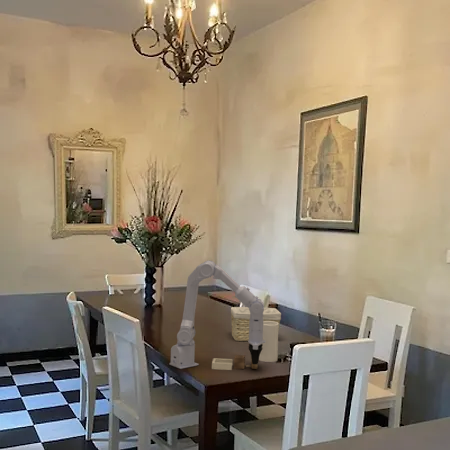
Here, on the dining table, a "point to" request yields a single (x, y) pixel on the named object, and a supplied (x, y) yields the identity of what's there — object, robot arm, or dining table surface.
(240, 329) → the storage basket
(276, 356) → the cup
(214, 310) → the dining table surface
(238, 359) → the tan rounded-end part
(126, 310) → the dining table surface
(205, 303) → the dining table surface
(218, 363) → the small tray
